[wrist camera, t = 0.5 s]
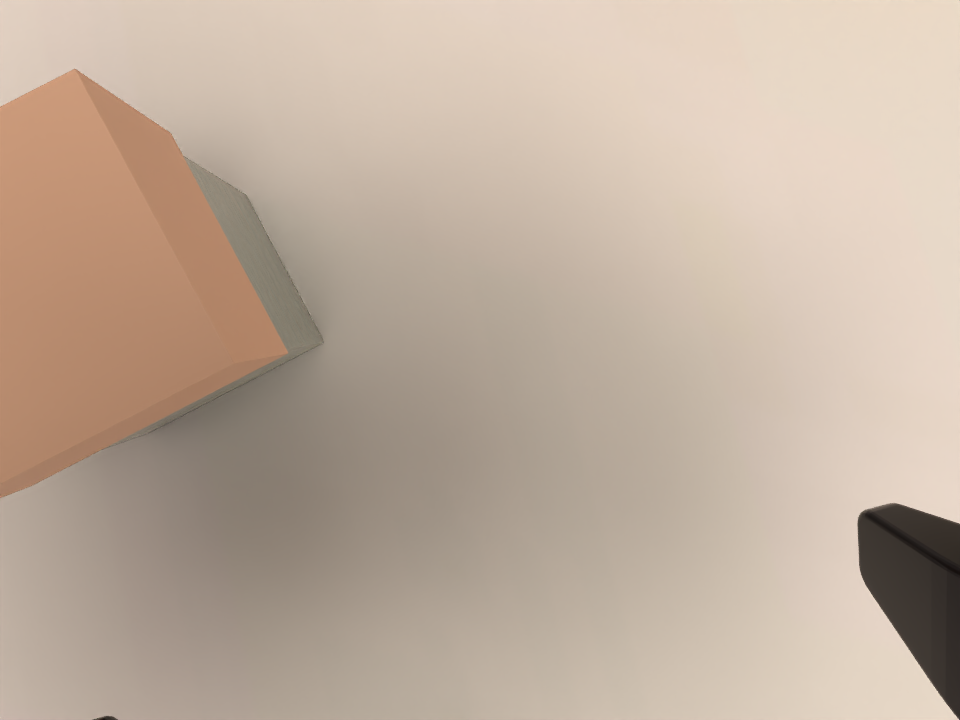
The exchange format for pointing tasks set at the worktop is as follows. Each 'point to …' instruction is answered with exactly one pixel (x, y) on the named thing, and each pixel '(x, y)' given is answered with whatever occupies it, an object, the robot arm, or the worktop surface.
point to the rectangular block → (108, 281)
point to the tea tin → (252, 282)
